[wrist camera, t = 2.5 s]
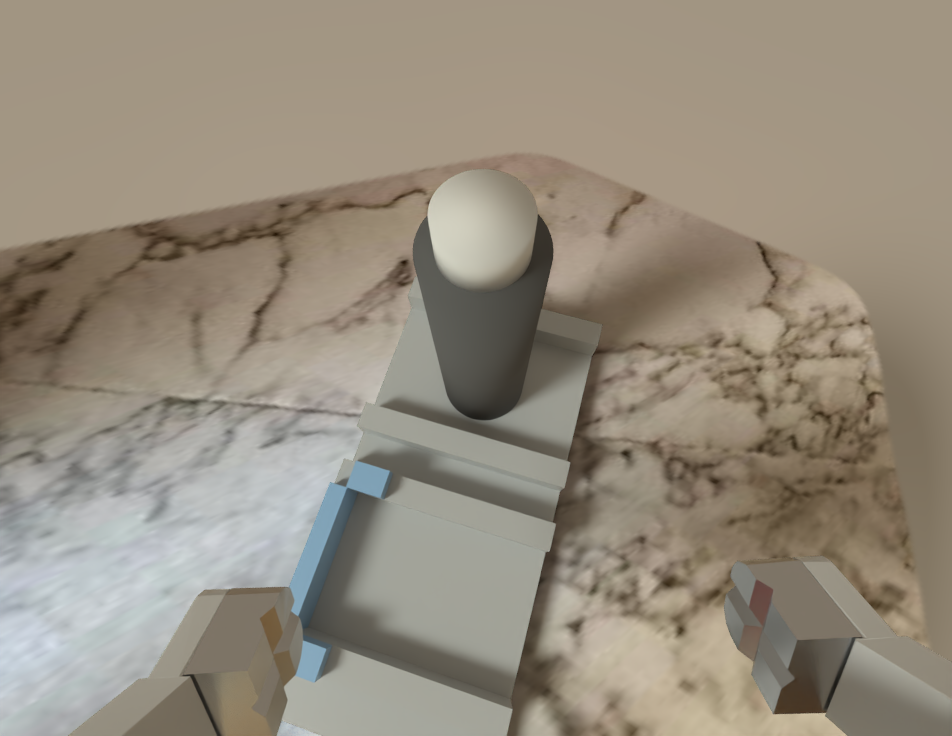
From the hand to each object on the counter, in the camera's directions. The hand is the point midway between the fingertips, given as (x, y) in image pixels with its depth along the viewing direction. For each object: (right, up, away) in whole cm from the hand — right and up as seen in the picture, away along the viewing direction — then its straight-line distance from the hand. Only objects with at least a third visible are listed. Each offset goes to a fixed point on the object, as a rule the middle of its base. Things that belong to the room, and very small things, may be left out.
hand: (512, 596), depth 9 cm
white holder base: (-2, -2, +15) cm, 16 cm away
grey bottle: (0, +4, +16) cm, 16 cm away
